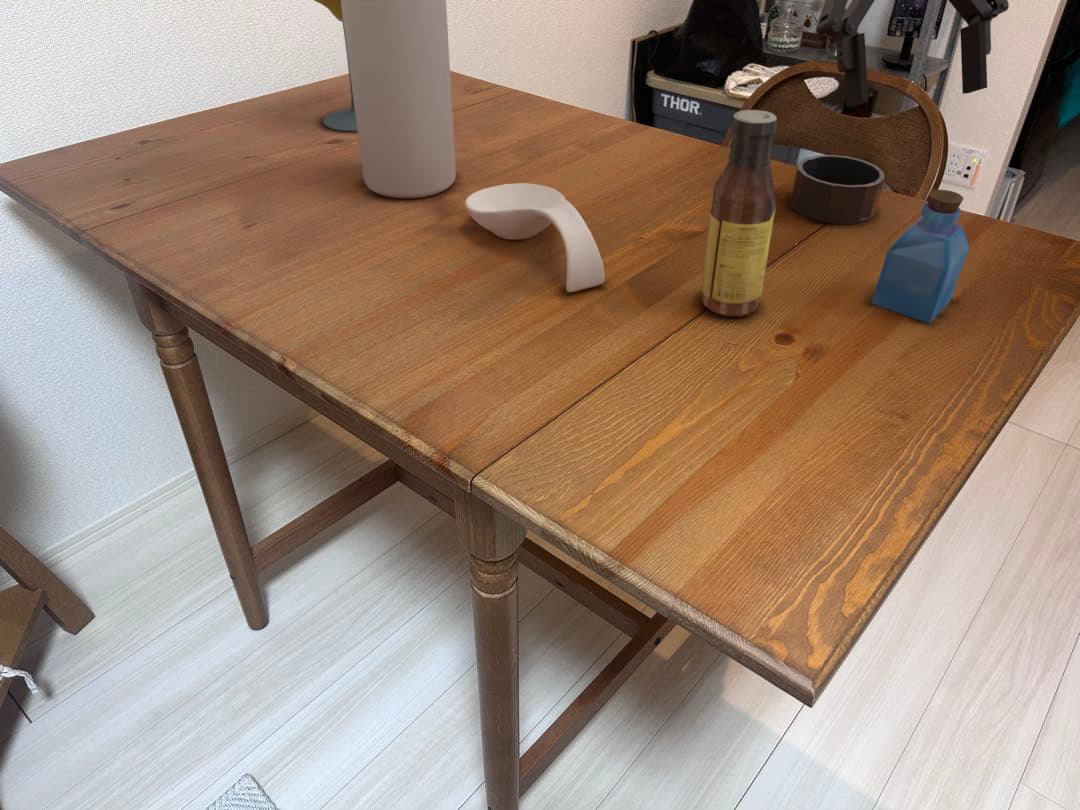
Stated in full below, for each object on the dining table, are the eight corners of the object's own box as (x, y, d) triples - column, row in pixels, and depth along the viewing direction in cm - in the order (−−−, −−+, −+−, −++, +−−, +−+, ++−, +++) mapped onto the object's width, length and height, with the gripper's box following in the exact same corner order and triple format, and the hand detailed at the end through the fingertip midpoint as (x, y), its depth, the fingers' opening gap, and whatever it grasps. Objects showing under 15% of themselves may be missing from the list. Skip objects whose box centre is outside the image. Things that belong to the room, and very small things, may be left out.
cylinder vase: (418, 158, 119) (401, -34, 104) (474, 182, 112) (466, -19, 97) (346, 181, 112) (317, -21, 96) (402, 209, 105) (380, -4, 90)
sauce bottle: (770, 309, 86) (811, 120, 74) (728, 326, 83) (762, 133, 71) (726, 283, 90) (757, 101, 78) (684, 299, 87) (710, 112, 75)
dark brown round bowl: (872, 196, 110) (882, 159, 106) (876, 229, 101) (887, 191, 98) (791, 187, 112) (798, 151, 109) (789, 218, 104) (797, 181, 101)
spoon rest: (451, 219, 103) (447, 164, 98) (533, 201, 107) (533, 148, 103) (542, 304, 86) (543, 242, 82) (634, 278, 91) (639, 219, 86)
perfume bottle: (929, 323, 84) (968, 214, 77) (871, 303, 87) (903, 197, 80) (950, 300, 88) (988, 195, 80) (893, 281, 91) (926, 178, 83)
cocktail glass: (377, 96, 142) (358, -69, 126) (434, 123, 131) (422, -53, 115) (280, 117, 132) (248, -58, 117) (333, 148, 122) (306, -40, 106)
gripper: (989, -118, 86) (995, 92, 90) (771, -103, 82) (788, 117, 86) (1046, -154, 79) (1050, 77, 82) (810, -139, 74) (826, 102, 78)
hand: (916, 98), depth 84 cm, fingers open, 13 cm apart
